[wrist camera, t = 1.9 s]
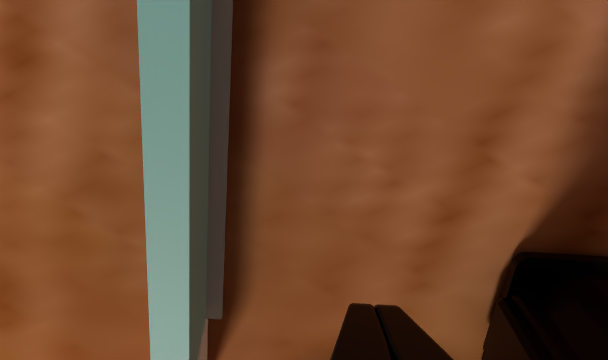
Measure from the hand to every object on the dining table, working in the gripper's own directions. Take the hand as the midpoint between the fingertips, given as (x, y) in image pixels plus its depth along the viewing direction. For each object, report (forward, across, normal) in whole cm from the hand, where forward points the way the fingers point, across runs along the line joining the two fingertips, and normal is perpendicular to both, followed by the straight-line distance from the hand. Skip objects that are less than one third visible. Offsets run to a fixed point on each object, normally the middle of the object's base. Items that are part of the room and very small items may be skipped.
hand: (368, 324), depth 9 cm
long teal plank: (+10, +5, +1) cm, 11 cm away
